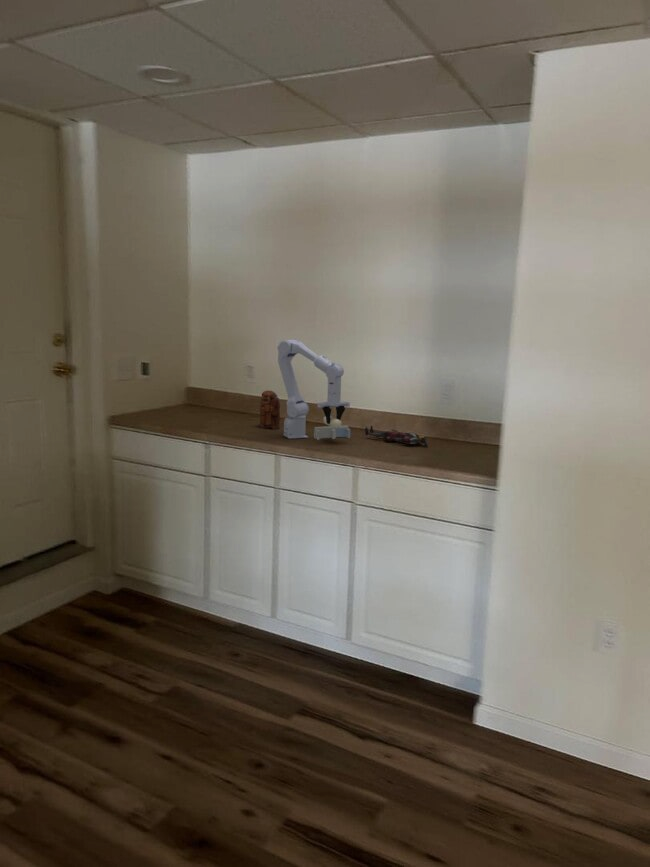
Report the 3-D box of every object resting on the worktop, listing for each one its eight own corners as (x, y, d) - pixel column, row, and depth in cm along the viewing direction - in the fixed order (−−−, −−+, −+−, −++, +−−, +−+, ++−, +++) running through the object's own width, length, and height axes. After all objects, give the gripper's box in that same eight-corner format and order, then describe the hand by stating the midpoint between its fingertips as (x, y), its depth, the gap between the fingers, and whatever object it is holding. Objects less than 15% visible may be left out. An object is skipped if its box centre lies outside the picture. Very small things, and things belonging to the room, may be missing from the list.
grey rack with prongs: (317, 439, 293) (317, 429, 292) (314, 438, 297) (314, 427, 296) (350, 438, 300) (351, 427, 299) (347, 436, 303) (347, 425, 302)
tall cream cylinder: (342, 428, 285) (341, 419, 284) (333, 429, 284) (333, 420, 283) (331, 423, 296) (331, 415, 295) (323, 424, 295) (322, 416, 294)
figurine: (375, 424, 306) (434, 432, 290) (375, 436, 308) (433, 445, 291) (361, 428, 296) (421, 436, 280) (361, 440, 297) (420, 449, 281)
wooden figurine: (255, 426, 319) (255, 390, 315) (263, 425, 324) (263, 388, 321) (275, 430, 313) (275, 392, 309) (282, 428, 318) (283, 391, 315)
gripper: (322, 394, 280) (321, 425, 282) (353, 393, 285) (351, 424, 288) (316, 392, 286) (315, 422, 289) (346, 391, 291) (345, 421, 294)
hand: (333, 423), depth 289 cm, fingers closed on tall cream cylinder, 4 cm apart
